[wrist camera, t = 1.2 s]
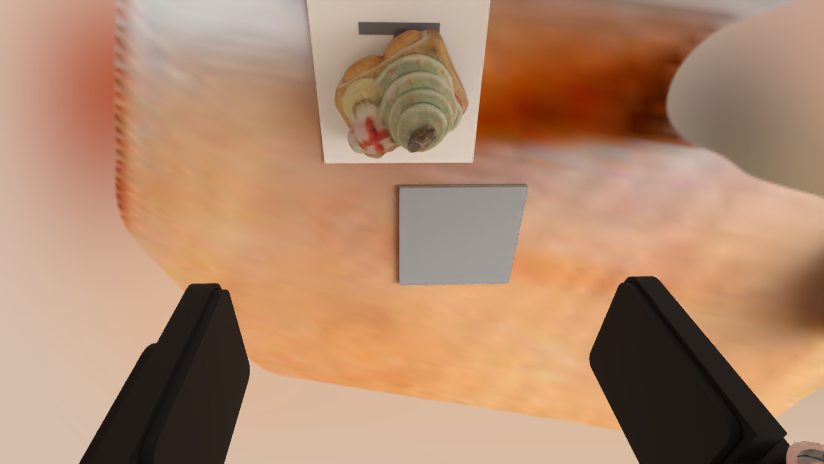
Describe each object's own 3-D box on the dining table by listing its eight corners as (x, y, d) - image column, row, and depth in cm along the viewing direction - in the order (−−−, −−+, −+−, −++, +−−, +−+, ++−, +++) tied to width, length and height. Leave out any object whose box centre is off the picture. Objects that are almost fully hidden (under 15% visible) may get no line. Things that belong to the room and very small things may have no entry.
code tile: (490, -6, 25) (491, -6, 25) (472, 161, 32) (472, 162, 31) (306, -9, 25) (305, -8, 25) (324, 162, 31) (324, 163, 31)
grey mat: (526, 184, 33) (527, 187, 33) (507, 280, 39) (508, 283, 38) (399, 185, 32) (399, 187, 32) (399, 282, 38) (399, 285, 38)
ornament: (377, 154, 31) (372, 232, 22) (323, 81, 28) (295, 142, 19) (473, 93, 28) (507, 156, 20) (426, 8, 25) (444, 41, 17)
